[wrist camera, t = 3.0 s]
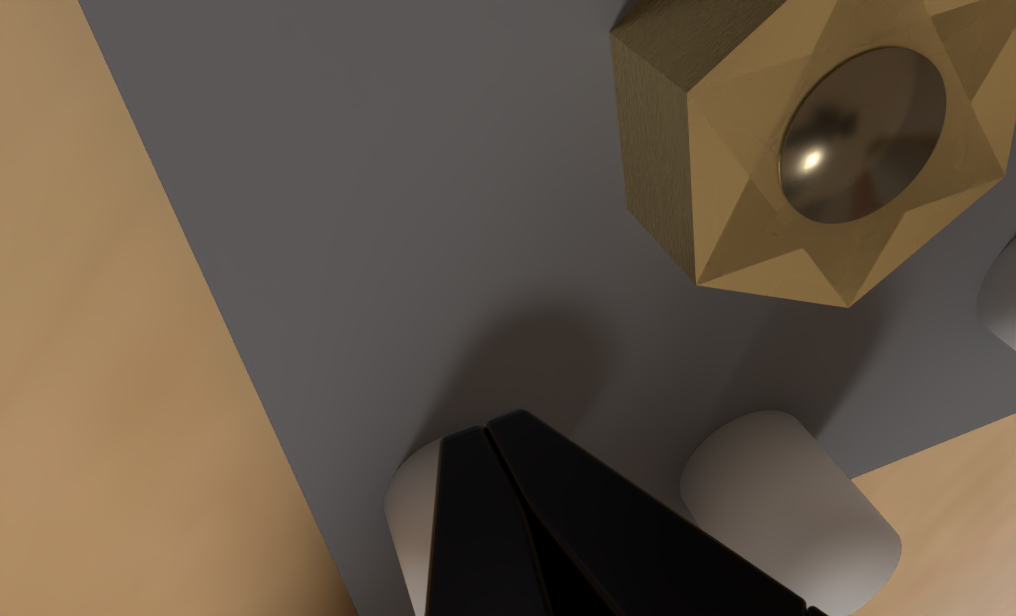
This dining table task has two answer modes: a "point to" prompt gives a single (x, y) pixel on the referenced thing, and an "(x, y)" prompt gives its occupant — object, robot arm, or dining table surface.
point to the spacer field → (528, 284)
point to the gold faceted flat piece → (810, 133)
